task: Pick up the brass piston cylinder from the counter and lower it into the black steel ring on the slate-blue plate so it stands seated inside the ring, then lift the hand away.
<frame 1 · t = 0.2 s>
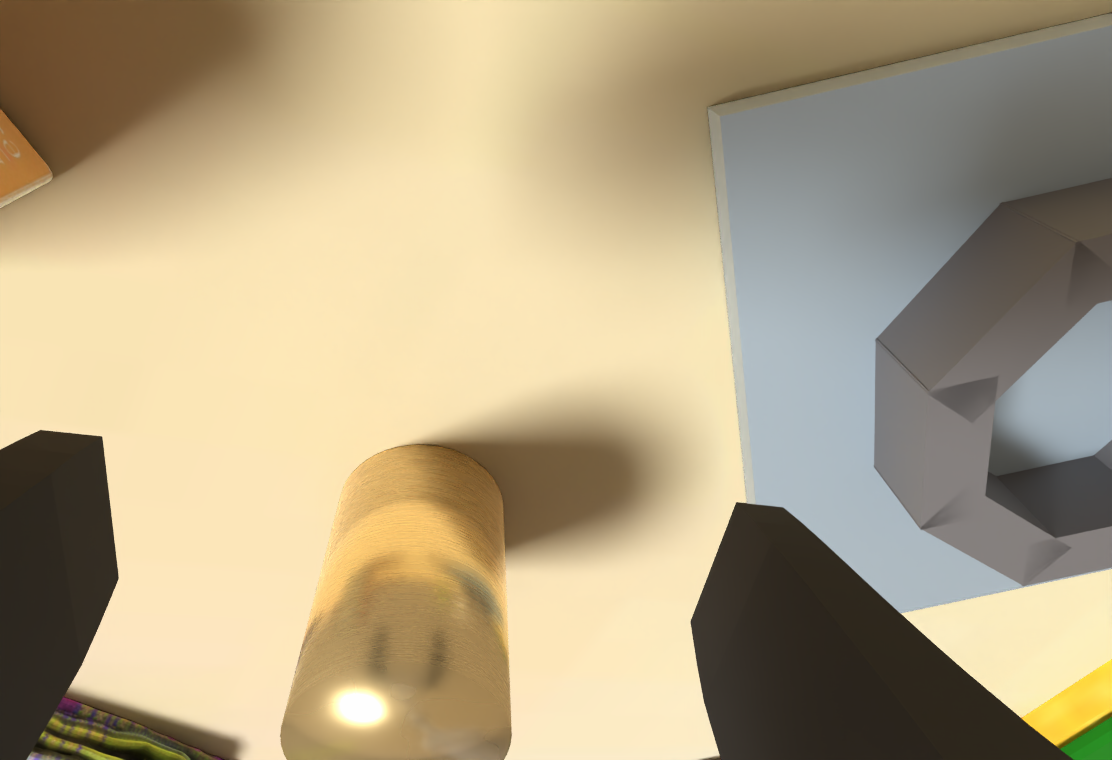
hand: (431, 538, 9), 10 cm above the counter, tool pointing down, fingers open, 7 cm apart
ring plate: (1035, 347, 20), on the counter
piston: (422, 511, 21), on the counter
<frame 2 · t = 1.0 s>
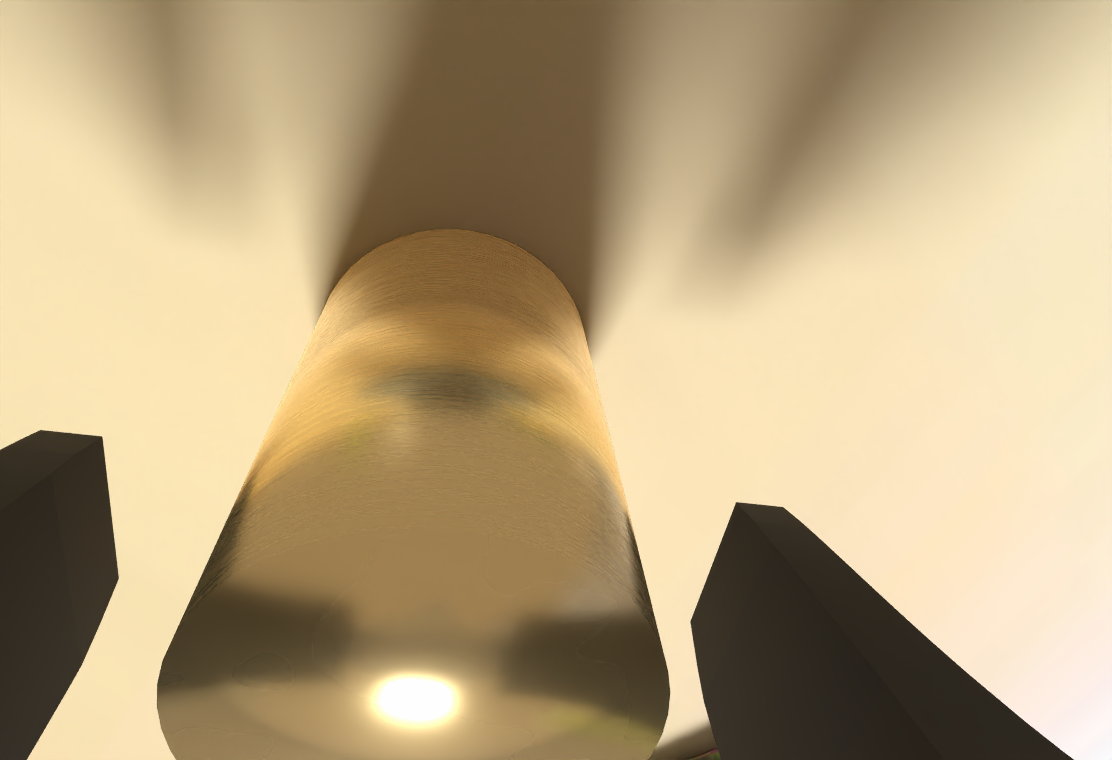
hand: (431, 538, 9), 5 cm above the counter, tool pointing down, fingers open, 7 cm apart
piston: (454, 356, 13), on the counter
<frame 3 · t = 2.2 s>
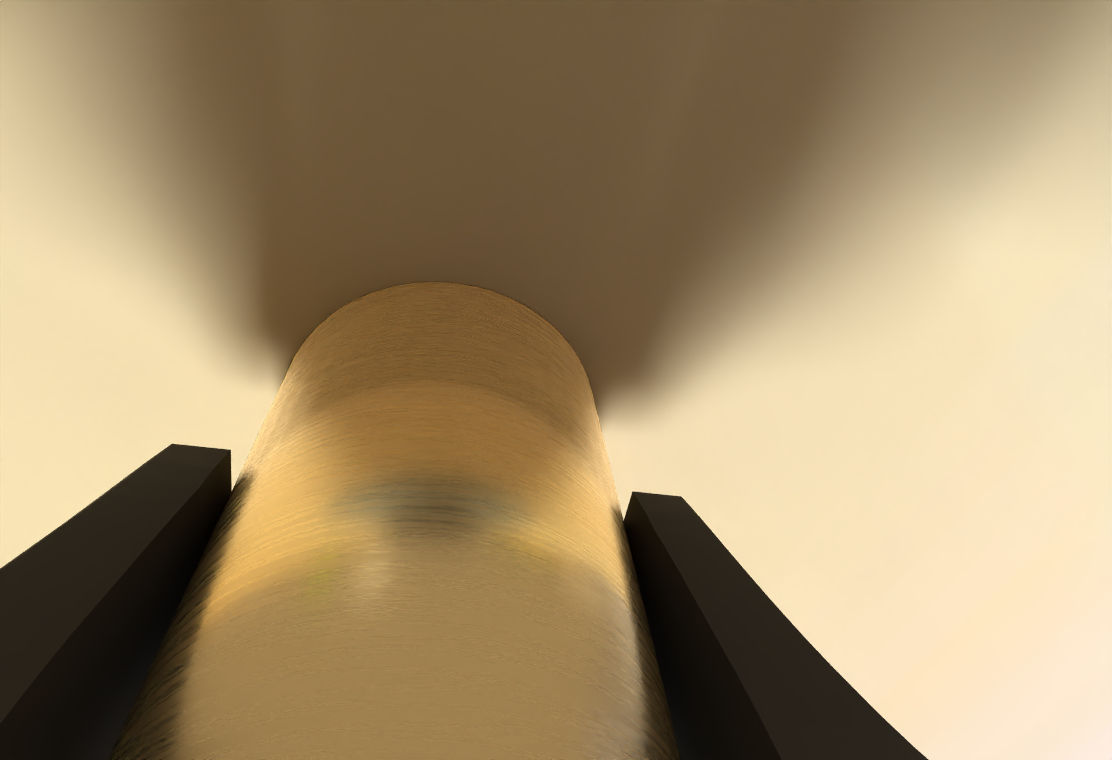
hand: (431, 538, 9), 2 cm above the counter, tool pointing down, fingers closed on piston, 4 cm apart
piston: (441, 425, 11), on the counter, touching gripper
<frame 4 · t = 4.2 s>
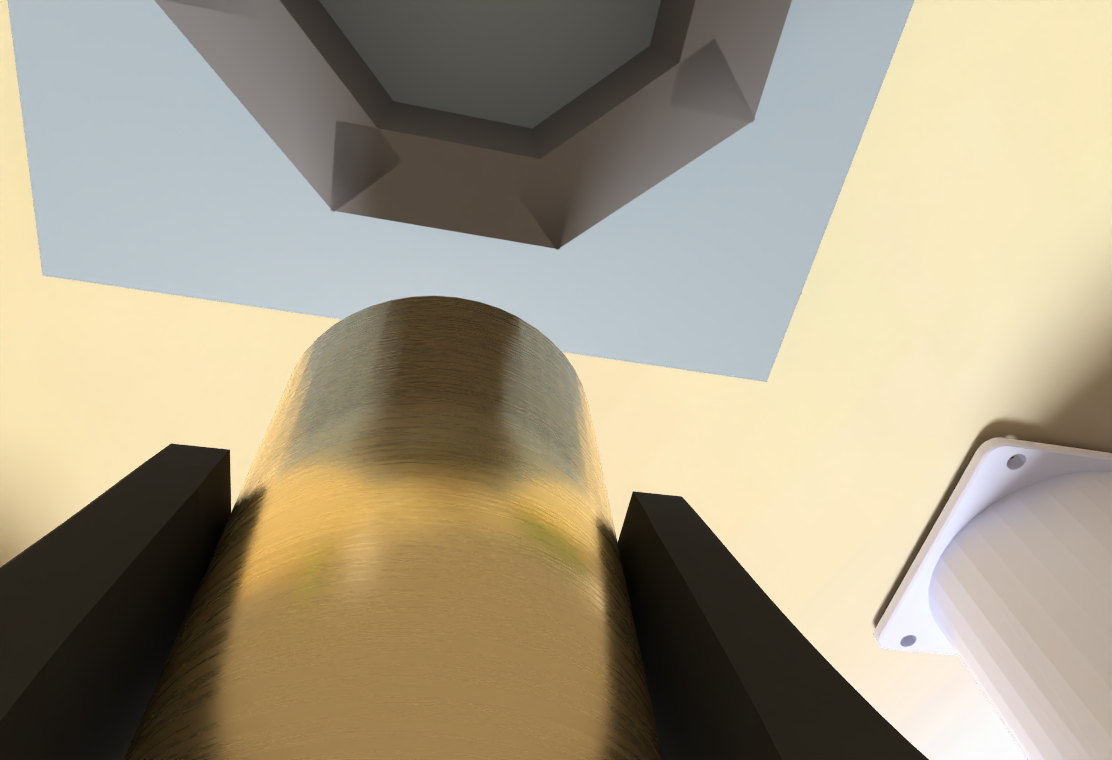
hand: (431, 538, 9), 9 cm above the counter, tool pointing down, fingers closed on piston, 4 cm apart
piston: (439, 434, 11), point 7 cm above the counter, touching gripper
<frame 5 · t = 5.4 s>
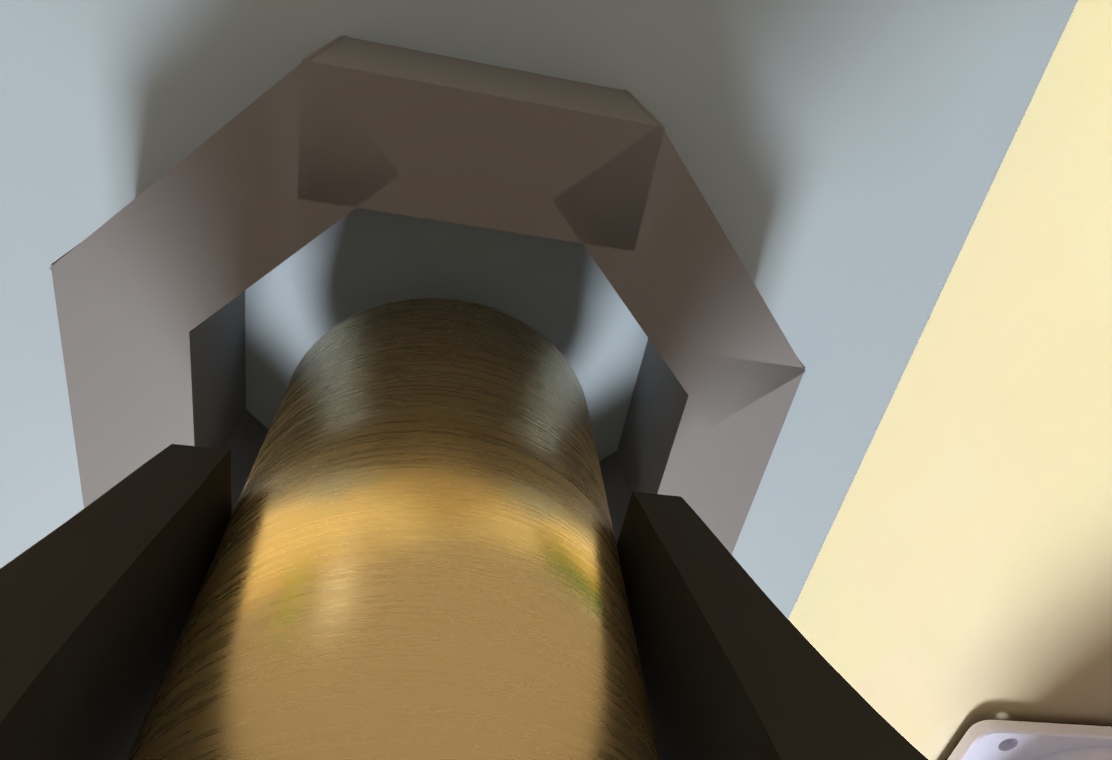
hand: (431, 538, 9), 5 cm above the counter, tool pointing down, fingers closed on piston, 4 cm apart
ring plate: (450, 337, 14), on the counter
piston: (439, 435, 11), point 3 cm above the counter, touching gripper
when the fingers open (5 cm above the counter, at t = 6.4 s): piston drops 1 cm, resting on ring plate.
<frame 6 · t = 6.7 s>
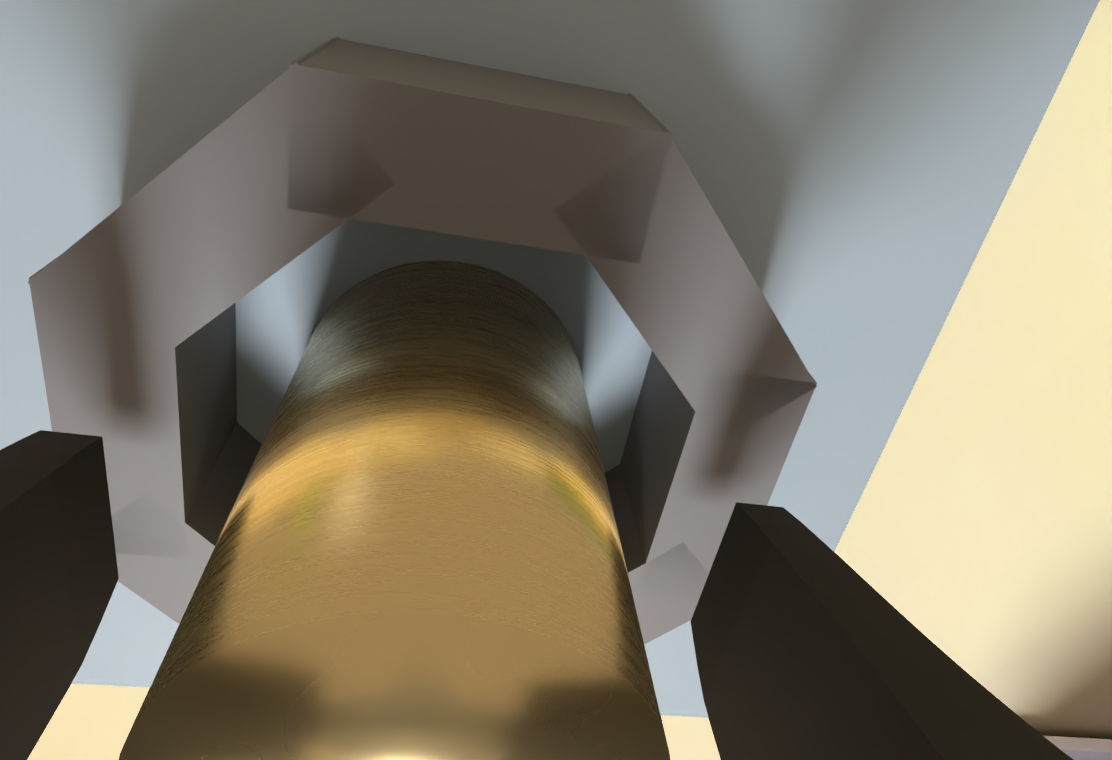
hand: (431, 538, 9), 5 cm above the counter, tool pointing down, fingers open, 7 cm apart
ring plate: (448, 348, 13), on the counter
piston: (444, 390, 12), point 1 cm above the counter, touching ring plate
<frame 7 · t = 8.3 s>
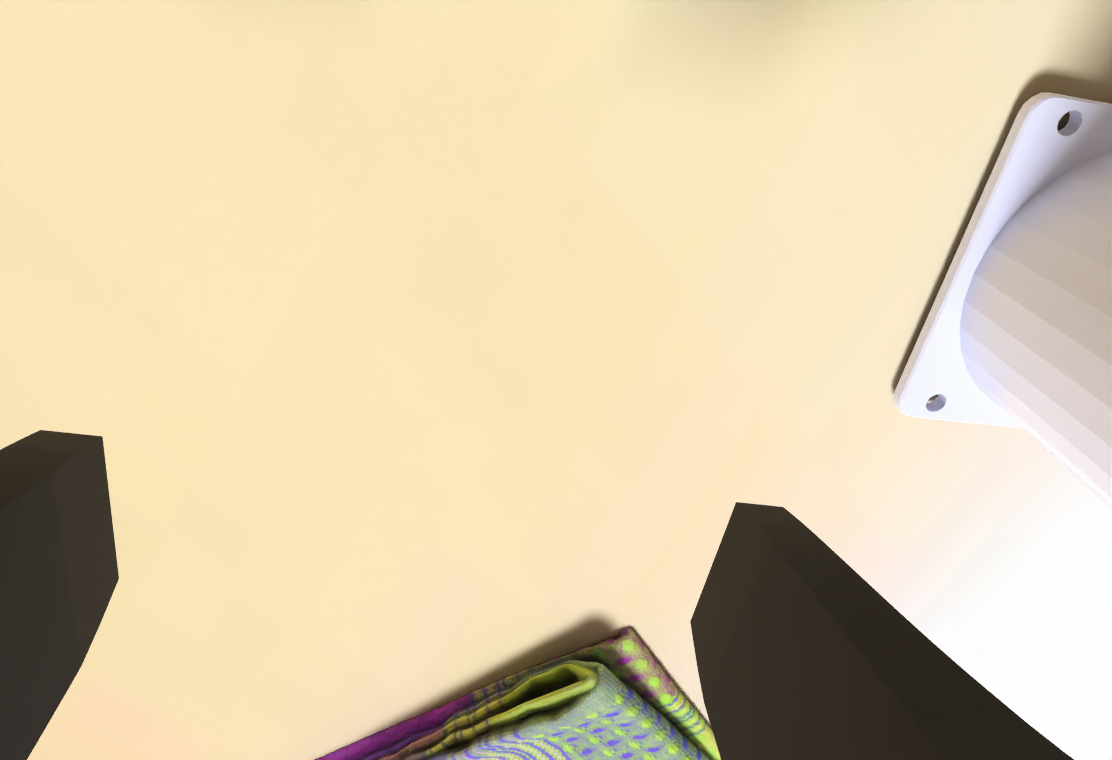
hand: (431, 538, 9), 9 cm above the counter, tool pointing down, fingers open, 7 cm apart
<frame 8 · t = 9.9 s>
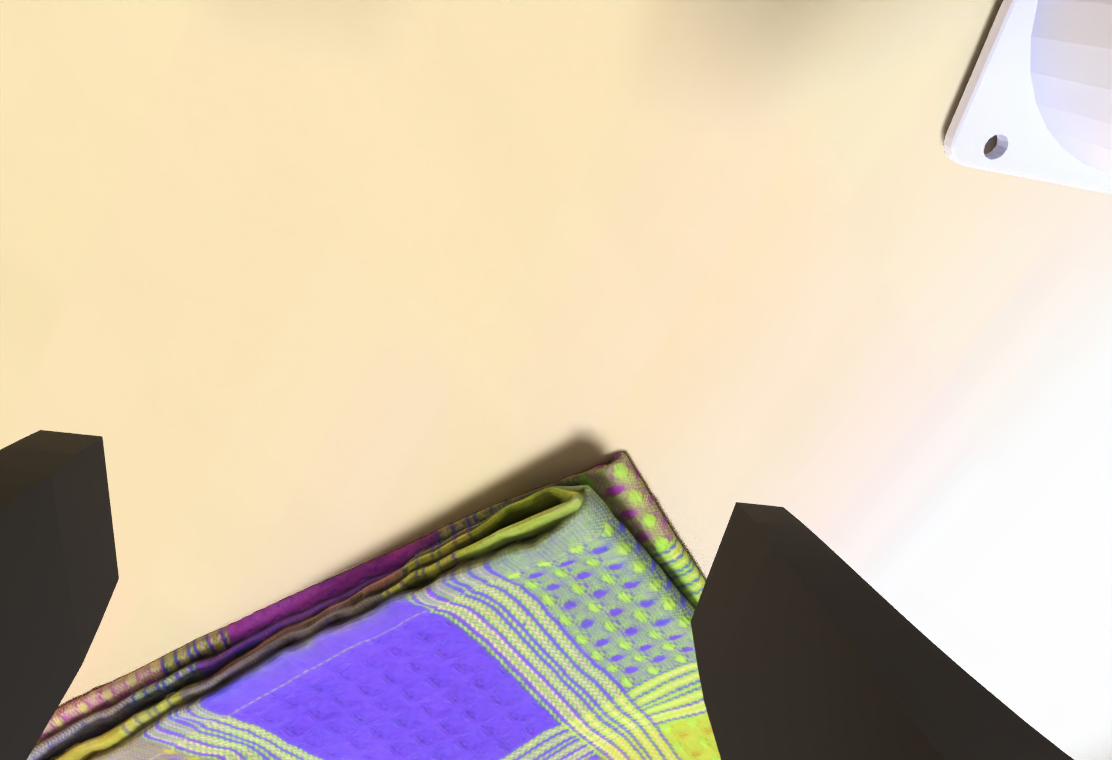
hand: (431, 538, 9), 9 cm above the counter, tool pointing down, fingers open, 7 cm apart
dish towel: (413, 747, 27), on the counter
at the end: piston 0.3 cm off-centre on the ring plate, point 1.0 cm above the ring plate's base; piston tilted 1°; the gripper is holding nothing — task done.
